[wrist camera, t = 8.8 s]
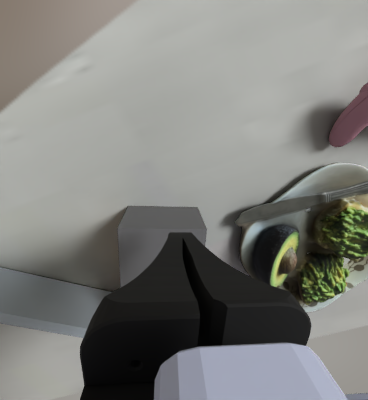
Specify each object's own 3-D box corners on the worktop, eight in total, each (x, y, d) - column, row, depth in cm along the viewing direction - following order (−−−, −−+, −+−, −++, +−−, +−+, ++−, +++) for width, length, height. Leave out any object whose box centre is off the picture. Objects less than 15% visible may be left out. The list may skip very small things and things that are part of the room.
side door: (130, 296, 24) (121, 334, 19) (126, 306, 24) (117, 346, 20) (-39, 258, 21) (-96, 294, 16) (-40, 271, 21) (-96, 310, 16)
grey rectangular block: (189, 308, 25) (194, 349, 21) (131, 310, 25) (123, 352, 20) (197, 207, 21) (206, 229, 16) (128, 205, 21) (116, 228, 16)
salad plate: (368, 106, 20) (425, 100, 15) (420, 231, 25) (474, 252, 21) (209, 226, 23) (219, 249, 18) (286, 316, 28) (309, 350, 23)
